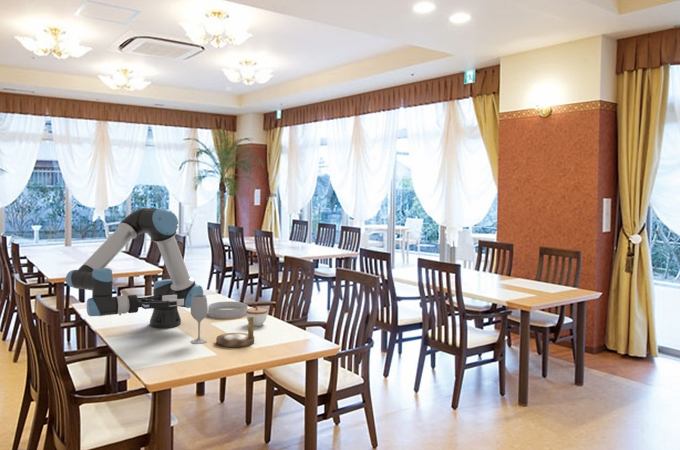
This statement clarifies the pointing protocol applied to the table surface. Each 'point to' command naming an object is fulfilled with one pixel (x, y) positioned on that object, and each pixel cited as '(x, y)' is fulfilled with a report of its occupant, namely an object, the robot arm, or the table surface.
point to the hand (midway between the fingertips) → (180, 299)
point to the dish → (227, 309)
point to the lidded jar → (257, 315)
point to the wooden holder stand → (238, 337)
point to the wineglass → (199, 313)
